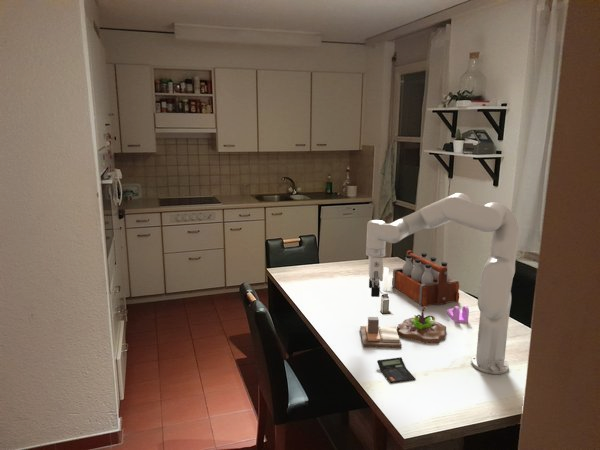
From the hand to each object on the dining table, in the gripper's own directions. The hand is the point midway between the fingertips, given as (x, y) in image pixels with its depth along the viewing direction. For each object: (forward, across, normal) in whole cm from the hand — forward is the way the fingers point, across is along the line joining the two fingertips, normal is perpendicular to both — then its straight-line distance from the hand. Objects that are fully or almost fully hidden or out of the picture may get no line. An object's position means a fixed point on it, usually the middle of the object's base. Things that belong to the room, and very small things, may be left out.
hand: (374, 292), depth 185 cm
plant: (+21, +7, -22) cm, 31 cm away
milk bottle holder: (+20, +53, -32) cm, 65 cm away
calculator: (+20, -27, -6) cm, 34 cm away
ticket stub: (+18, 0, 0) cm, 18 cm away
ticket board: (+20, 0, -3) cm, 20 cm away
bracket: (+20, +24, -41) cm, 51 cm away
